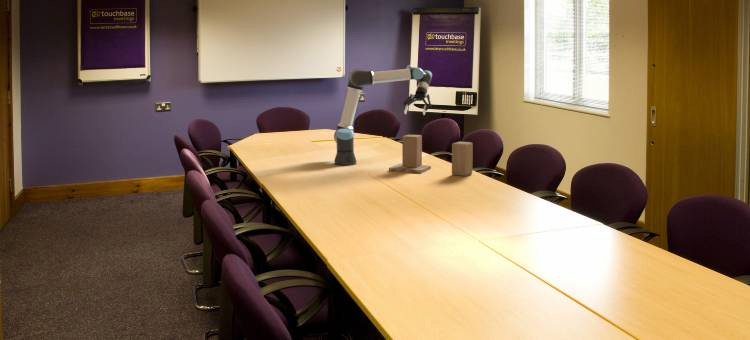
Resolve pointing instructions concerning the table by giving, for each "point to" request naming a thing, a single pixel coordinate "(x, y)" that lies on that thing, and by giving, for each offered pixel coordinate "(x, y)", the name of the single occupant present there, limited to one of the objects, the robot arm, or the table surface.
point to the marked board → (409, 169)
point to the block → (462, 158)
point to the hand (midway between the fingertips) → (414, 113)
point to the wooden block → (412, 151)
